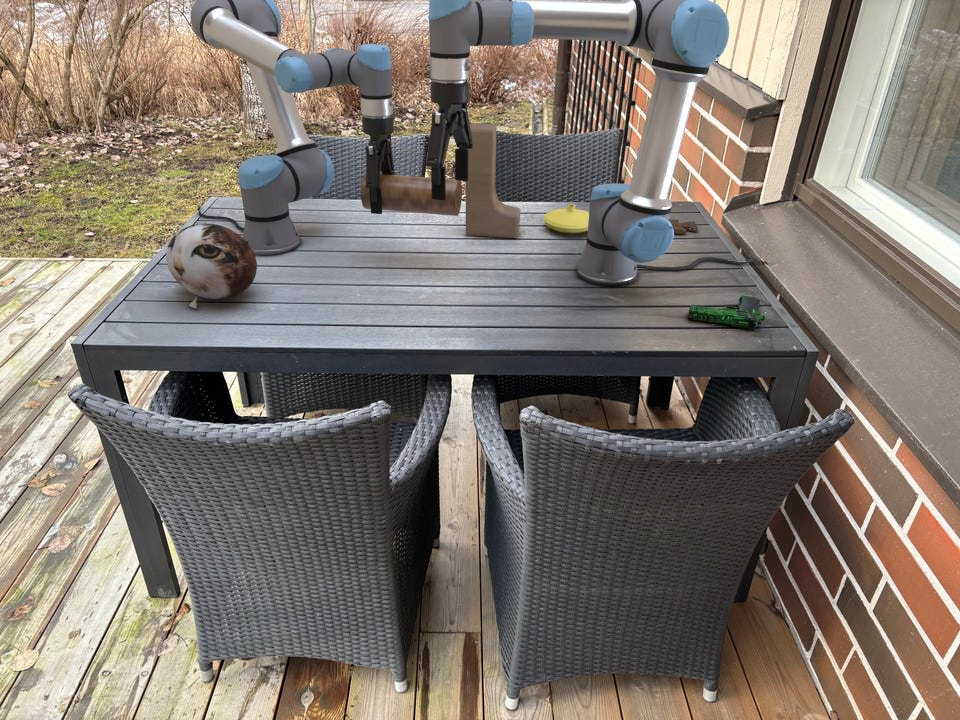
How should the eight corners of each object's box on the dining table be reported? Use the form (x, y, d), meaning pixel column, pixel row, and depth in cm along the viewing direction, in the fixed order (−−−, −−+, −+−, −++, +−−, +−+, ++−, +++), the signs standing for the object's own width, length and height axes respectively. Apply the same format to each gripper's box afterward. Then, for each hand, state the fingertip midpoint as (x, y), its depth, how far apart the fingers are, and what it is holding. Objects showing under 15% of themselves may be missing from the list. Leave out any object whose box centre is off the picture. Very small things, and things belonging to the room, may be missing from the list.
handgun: (768, 297, 166) (764, 322, 154) (765, 309, 168) (761, 335, 156) (697, 286, 172) (687, 310, 159) (695, 297, 173) (685, 322, 161)
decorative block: (517, 239, 203) (521, 131, 188) (465, 235, 205) (465, 128, 189) (519, 230, 209) (524, 124, 194) (469, 226, 211) (469, 122, 196)
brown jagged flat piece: (700, 236, 208) (693, 224, 217) (701, 230, 207) (694, 219, 216) (612, 233, 208) (607, 221, 217) (613, 227, 207) (608, 216, 216)
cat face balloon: (130, 285, 161) (164, 203, 163) (192, 308, 177) (221, 233, 178) (195, 307, 151) (229, 220, 152) (254, 330, 166) (285, 250, 168)
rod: (362, 213, 179) (359, 178, 174) (372, 202, 186) (370, 168, 182) (454, 221, 176) (454, 185, 171) (461, 209, 183) (462, 175, 178)
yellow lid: (559, 216, 220) (561, 193, 217) (605, 227, 212) (608, 204, 209) (532, 230, 209) (533, 207, 206) (580, 242, 201) (582, 218, 198)
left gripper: (379, 127, 160) (384, 222, 172) (404, 107, 179) (407, 195, 190) (347, 124, 161) (354, 220, 173) (375, 105, 180) (380, 192, 191)
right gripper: (445, 93, 125) (446, 210, 136) (488, 71, 146) (486, 174, 156) (405, 90, 127) (410, 205, 138) (453, 69, 148) (454, 171, 158)
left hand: (382, 207), depth 182 cm, fingers closed on rod, 9 cm apart
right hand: (450, 189), depth 147 cm, fingers open, 13 cm apart
